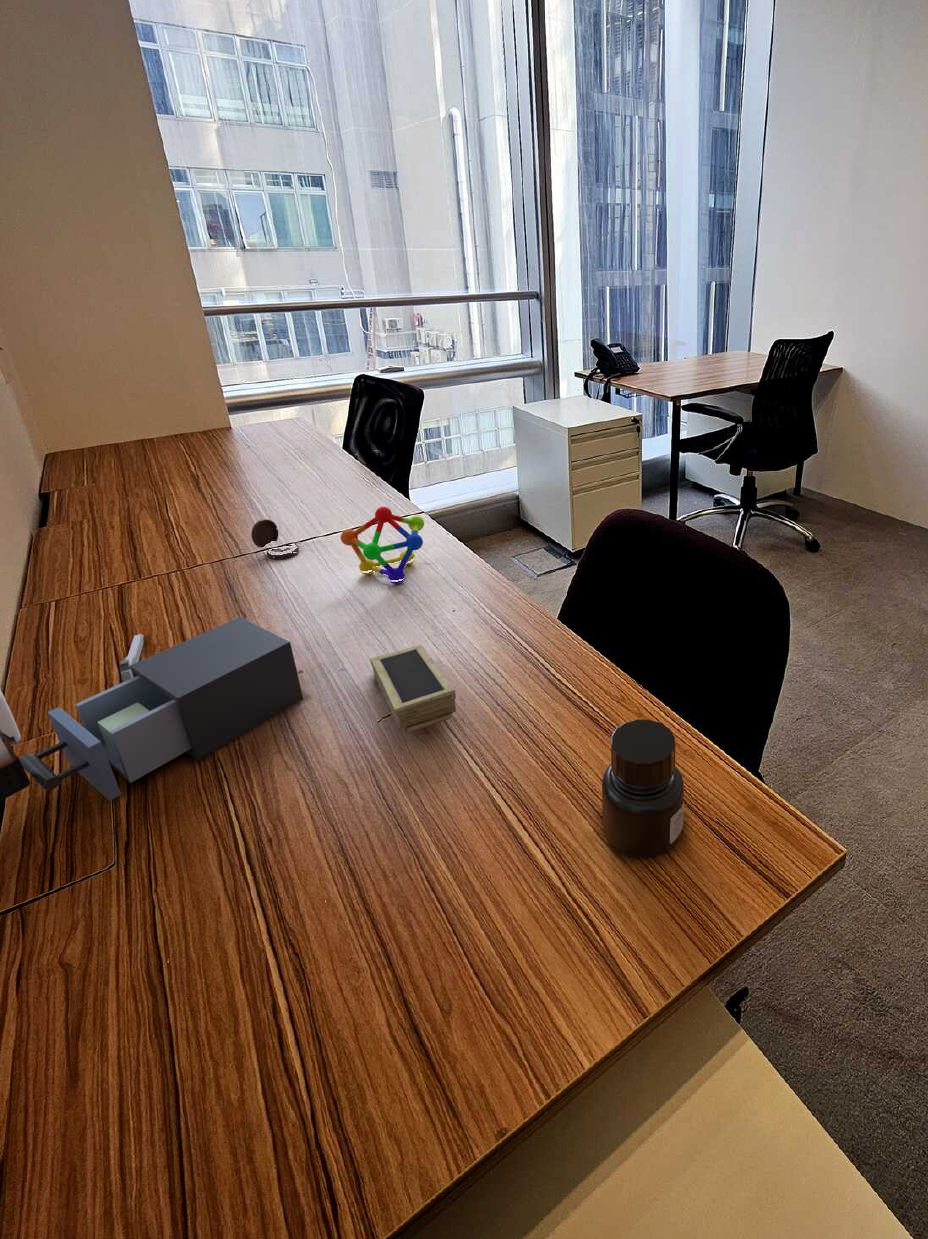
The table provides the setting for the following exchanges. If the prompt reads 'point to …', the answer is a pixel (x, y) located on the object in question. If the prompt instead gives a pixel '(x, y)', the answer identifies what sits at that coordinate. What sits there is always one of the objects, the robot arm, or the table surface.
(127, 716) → the block
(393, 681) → the box
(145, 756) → the drawer
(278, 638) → the cabinet
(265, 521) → the compass
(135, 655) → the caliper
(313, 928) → the table surface
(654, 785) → the ink bottle
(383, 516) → the educational toy
